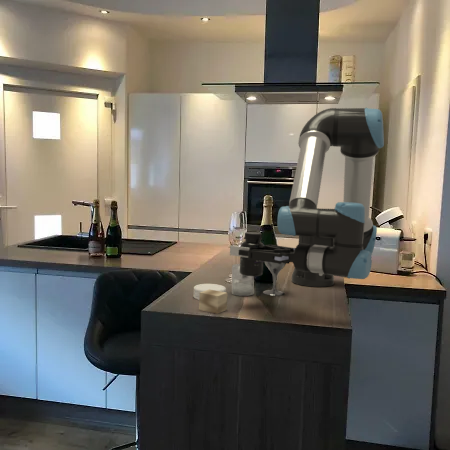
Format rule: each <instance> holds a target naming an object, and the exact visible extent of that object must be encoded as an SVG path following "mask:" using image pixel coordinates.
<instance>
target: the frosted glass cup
mask: <svg viewBox="0 0 450 450" xmlns="http://www.w3.org/2000/svg"><path fill="white" fill-rule="evenodd" d="M254 282H255V276H246V275H242V274H240V263H238V264H237V263H236V264H235V263H234V264H232V265H231V294H232V295H234V296H238V297H239V296H240V297H246V296H248V297H249V296H253V295H254V291H255V290H254V289H255V286H254V284H255V283H254Z"/></svg>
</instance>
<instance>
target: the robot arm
mask: <svg viewBox="0 0 450 450" xmlns="http://www.w3.org/2000/svg"><path fill="white" fill-rule="evenodd" d="M383 117H384V116H383V111H381V110H380V109H379V108H369V107H363V108H362V107H361V108H360V107H359V108H357V107H356V108H355V107H353V108H350V107H349V108H347V107H345V108H343V107H342V108H339V107H338V108H337V107H331V108H326V109H323V110H321V111H319V112H318V113H315V114H314V115H313V116H312V117H311V118H310V119H309V120H307V122H306V123H305V124H304V126H303V128H302V130H301V131H300V133H299V137H298V143H297V144H298V147H299V152H298V153H299V154H298V159H297V164H296V168H295V172H294V173H295V174H294V178H293V184H292V187H291V193H290V198H289V202H288V203H289V204H288V205H286V206H281V207H280V208H279V210H278V214H277V220H276V221H277V222H276V223H277V231H278V232H279V233H280V234H281V235H287V236H294V237H295V236H298V244H297V245H296V246H295V247H290V246H284V245H277V244H276V245H275V244H264V250H257V249H252V246H250V247H249V248H247V247H241V246H238V245H230V246H229V255H230V256H232V257H233V256H234V257H239V258H240V257H247V258H248V259H249V260H258V261H264V262H265V261H266V262H274V263H279V264H281V263H282V262H283V263H285V264H286V265H287V264H290V263H293V267H294V269H293V271H292V274H291V282H292V283H294V284H297V285H301V286H306V287H313V288H315V287H317V288H319V287H320V288H321V287H323V288H326V287H332V286H333V285H334V283H335V282H334V281H335V277H339V278H340V277H341V278H346V279H350V280H351V279H353V280H354V279H355V280H366V279H367V278H368V277H369V276H370V273H371V270H372V265H373V264H372V263H373V262H372V261H373V260H372V259H373V258H372V255H373V252H374V249H375V244H376V238H377V234H378V233H377V231H378V227H377V226H376V225H374V224H373V220H372V218H370V207H371V206H370V205H371V203H370V202H371V190H372V180H373V179H372V178H373V177H372V176H373V166H374V165H373V164H374V163H373V162H374V161H373V160H374V157H375V156H376V155H378V153H379V151H380V149H382V148H383V147H384V146H385V135H384V133H385V132H384V118H383ZM330 147H338V148H339V147H340V150H339V151H340V154H341V155H342V156H343V157H344V177H343V201H341V202H340V201H338V202H337V203H335V205H334V208H318V204H319V197H320V190H321V186H322V185H321V184H322V178H323V170H324V164H325V158H326V153H328V151H329V150H330V149H331V148H330ZM283 246H284V247H283Z"/></svg>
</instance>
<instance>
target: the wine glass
mask: <svg viewBox="0 0 450 450" xmlns="http://www.w3.org/2000/svg"><path fill="white" fill-rule="evenodd" d="M282 246H283V247H285V246H284V245H282ZM264 264H265V266H266V267H267V268H268V270H269V271H270V273H271V274H272V282H273V283H272V288H271V289H267V290H263V291H262V293H263V294H264V295H268V296H274V297H275V296H284V295H285V294H286V293H285V292H284V291H281V290H277V289H276V285H277V284H276V283H277V277H278V276H279V273H281V271H282V270H283V269H284V268H285V267H286V265H287V264H285V263H283V262H282V263H281V264H279V263H274V262H266V261H264Z"/></svg>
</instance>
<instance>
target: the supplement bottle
mask: <svg viewBox="0 0 450 450" xmlns="http://www.w3.org/2000/svg"><path fill="white" fill-rule="evenodd" d="M243 238H244V241H242V243H241V244H240V247H247V248H249V247H250V246H252V249H257V250H264V245H265V244H264V243H263V242H262V233H261V232H257V231H255V232H253V231H251V232H250V231H248V232H244V237H243ZM264 263H265V261H258V260H249V259H248V258H247V257H240V256H239V264H240V274H242V275H246V276H254V277H259V276H260V277H261V276H262V275H263V273H264Z"/></svg>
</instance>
